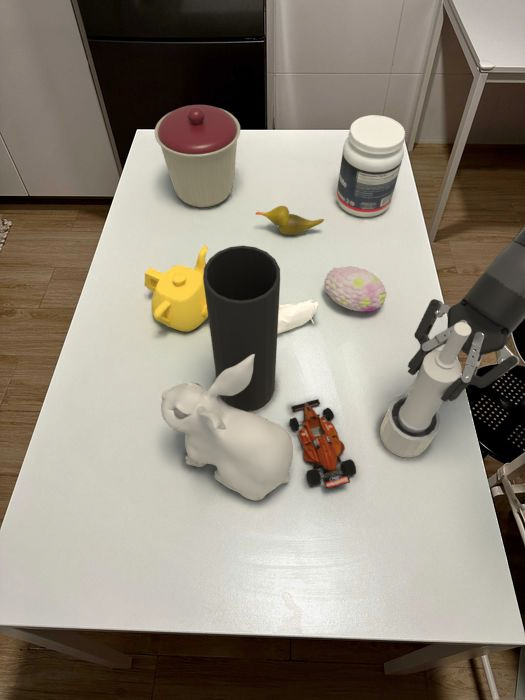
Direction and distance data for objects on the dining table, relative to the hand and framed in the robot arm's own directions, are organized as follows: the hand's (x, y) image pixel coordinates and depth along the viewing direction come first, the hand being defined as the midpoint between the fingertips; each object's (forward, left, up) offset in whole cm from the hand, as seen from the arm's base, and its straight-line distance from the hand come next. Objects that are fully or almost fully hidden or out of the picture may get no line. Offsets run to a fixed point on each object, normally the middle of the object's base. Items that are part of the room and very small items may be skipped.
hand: (427, 386), depth 71 cm
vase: (+25, +12, -19) cm, 34 cm away
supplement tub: (+45, -41, -19) cm, 64 cm away
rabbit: (+16, +23, -19) cm, 34 cm away
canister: (+72, -15, -19) cm, 76 cm away
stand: (0, -2, -19) cm, 19 cm away
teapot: (+46, +9, -19) cm, 51 cm away
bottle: (0, -2, -13) cm, 13 cm away
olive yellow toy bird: (+49, -21, -19) cm, 56 cm away
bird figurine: (+30, -3, -19) cm, 36 cm away
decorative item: (+26, -17, -19) cm, 36 cm away
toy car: (+8, +10, -19) cm, 23 cm away
